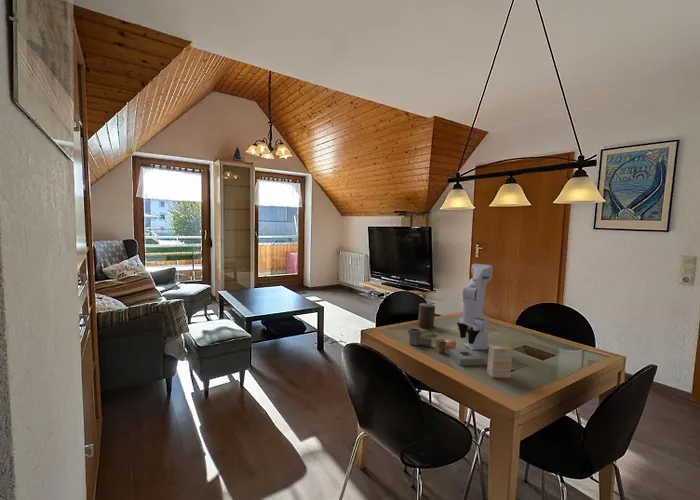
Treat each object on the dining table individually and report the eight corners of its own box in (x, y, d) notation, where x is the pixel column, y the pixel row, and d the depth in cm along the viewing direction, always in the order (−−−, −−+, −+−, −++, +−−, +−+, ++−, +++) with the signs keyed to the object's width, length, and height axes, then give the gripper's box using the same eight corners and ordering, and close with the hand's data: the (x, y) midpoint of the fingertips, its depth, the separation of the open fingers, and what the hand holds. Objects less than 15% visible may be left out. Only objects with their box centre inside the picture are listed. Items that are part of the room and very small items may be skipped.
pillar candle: (428, 329, 203) (430, 305, 202) (414, 325, 210) (416, 302, 209) (436, 327, 210) (438, 303, 209) (422, 323, 217) (424, 300, 216)
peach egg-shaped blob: (452, 348, 175) (453, 338, 174) (457, 352, 169) (458, 342, 169) (442, 348, 174) (442, 339, 173) (447, 352, 168) (447, 342, 168)
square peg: (442, 350, 170) (443, 339, 170) (445, 353, 167) (446, 341, 166) (435, 350, 170) (436, 339, 169) (438, 353, 166) (439, 341, 166)
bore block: (470, 354, 167) (470, 348, 167) (483, 365, 155) (484, 358, 155) (447, 355, 165) (448, 349, 164) (459, 365, 153) (460, 359, 153)
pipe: (431, 348, 172) (432, 333, 172) (406, 345, 175) (407, 330, 174) (431, 344, 178) (432, 329, 178) (406, 341, 181) (407, 327, 180)
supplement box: (504, 373, 147) (507, 344, 146) (510, 379, 142) (513, 348, 141) (486, 373, 146) (488, 343, 145) (491, 378, 142) (494, 348, 141)
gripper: (454, 308, 164) (451, 335, 166) (469, 316, 150) (466, 346, 151) (467, 308, 166) (465, 335, 167) (483, 316, 151) (481, 346, 152)
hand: (466, 340), depth 159 cm, fingers open, 7 cm apart
